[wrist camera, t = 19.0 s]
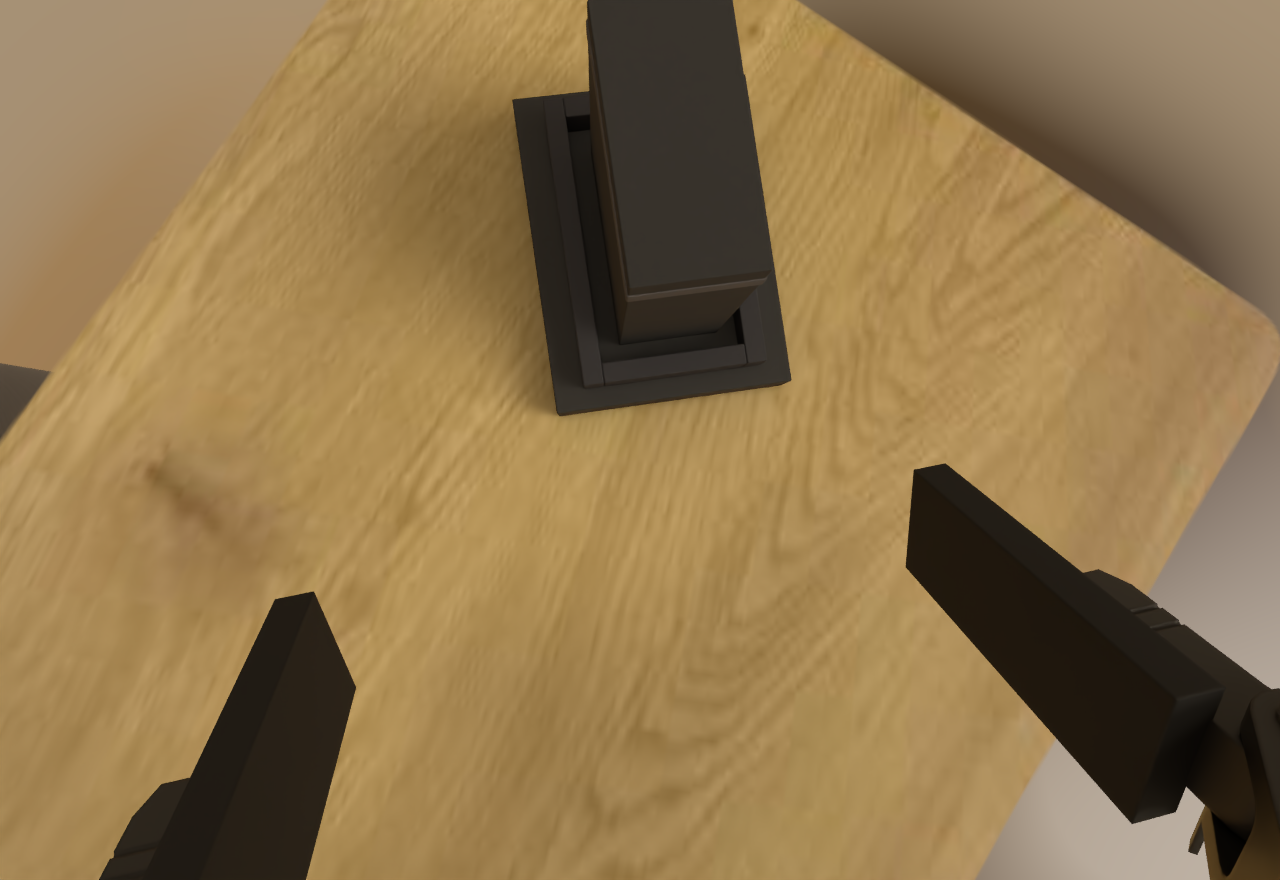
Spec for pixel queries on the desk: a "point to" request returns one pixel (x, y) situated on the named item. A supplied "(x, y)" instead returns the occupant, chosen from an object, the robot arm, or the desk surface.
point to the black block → (674, 165)
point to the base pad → (581, 290)
